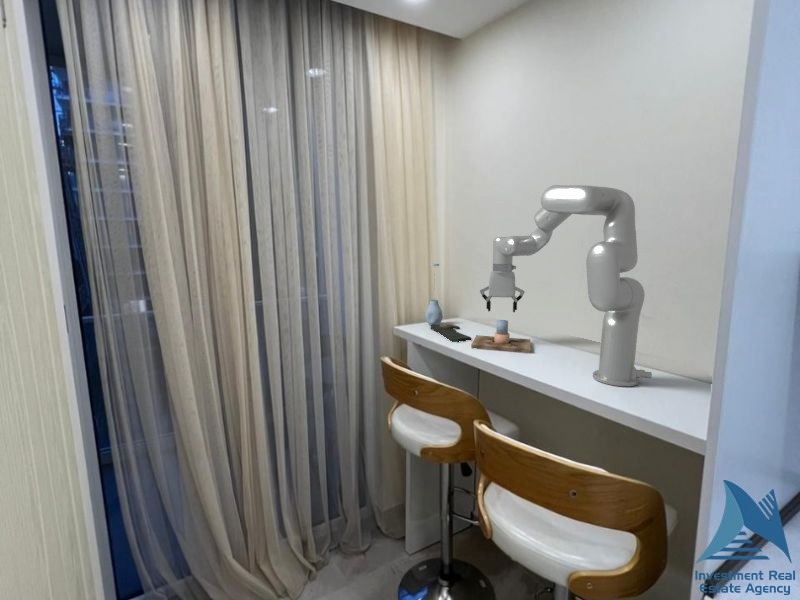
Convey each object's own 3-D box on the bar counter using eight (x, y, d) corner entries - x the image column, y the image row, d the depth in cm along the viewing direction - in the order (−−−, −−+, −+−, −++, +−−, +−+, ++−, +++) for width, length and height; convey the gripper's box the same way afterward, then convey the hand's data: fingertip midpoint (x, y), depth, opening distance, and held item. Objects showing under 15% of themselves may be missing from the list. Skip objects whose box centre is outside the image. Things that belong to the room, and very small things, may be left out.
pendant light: (435, 322, 209) (436, 263, 204) (445, 325, 202) (447, 264, 197) (422, 324, 205) (423, 263, 200) (431, 327, 198) (433, 264, 193)
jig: (530, 342, 171) (530, 339, 171) (530, 353, 156) (530, 349, 156) (476, 338, 178) (476, 335, 178) (471, 348, 163) (471, 344, 162)
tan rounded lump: (509, 344, 169) (509, 332, 168) (508, 348, 163) (509, 335, 163) (494, 343, 170) (495, 331, 170) (493, 346, 165) (494, 334, 164)
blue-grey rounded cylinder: (507, 332, 168) (508, 320, 167) (507, 334, 164) (508, 322, 163) (496, 331, 169) (496, 319, 168) (496, 334, 165) (496, 322, 164)
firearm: (484, 336, 175) (452, 339, 170) (484, 341, 175) (452, 344, 170) (453, 322, 201) (425, 324, 196) (453, 327, 202) (425, 329, 197)
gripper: (525, 268, 165) (524, 310, 167) (481, 268, 170) (480, 309, 172) (525, 269, 158) (524, 313, 160) (479, 269, 163) (478, 312, 165)
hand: (501, 311), depth 166 cm, fingers open, 9 cm apart
